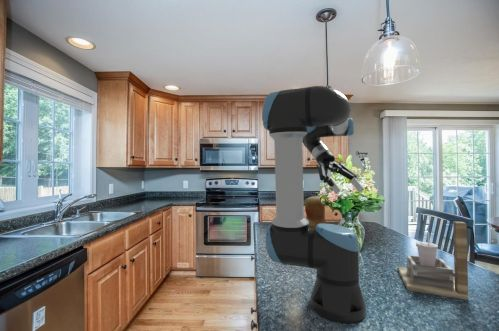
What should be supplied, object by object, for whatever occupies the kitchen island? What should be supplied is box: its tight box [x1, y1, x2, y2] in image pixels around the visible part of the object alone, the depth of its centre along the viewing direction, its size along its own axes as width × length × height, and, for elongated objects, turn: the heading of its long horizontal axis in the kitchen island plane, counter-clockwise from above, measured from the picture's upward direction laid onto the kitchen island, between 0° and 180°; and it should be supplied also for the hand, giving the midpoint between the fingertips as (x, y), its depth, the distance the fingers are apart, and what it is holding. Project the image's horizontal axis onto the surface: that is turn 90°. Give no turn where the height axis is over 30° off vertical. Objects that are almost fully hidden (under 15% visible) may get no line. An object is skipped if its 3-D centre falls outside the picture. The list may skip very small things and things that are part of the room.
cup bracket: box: [397, 220, 469, 301], centre depth 86 cm, size 18×16×24 cm
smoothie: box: [415, 231, 439, 267], centre depth 86 cm, size 6×6×14 cm
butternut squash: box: [304, 195, 327, 229], centre depth 145 cm, size 14×13×25 cm
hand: (350, 191), depth 98 cm, fingers open, 13 cm apart
